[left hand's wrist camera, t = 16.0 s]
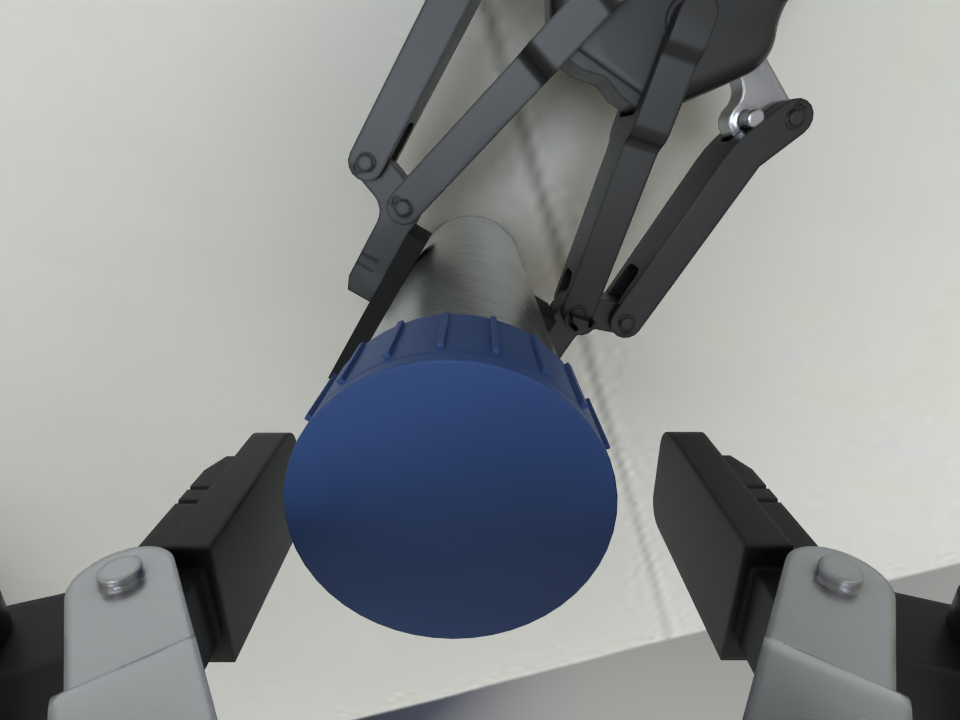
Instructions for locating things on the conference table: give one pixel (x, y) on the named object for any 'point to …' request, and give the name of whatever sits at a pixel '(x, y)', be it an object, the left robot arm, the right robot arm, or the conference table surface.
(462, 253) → the jar
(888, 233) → the conference table surface
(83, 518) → the conference table surface
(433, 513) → the lid
